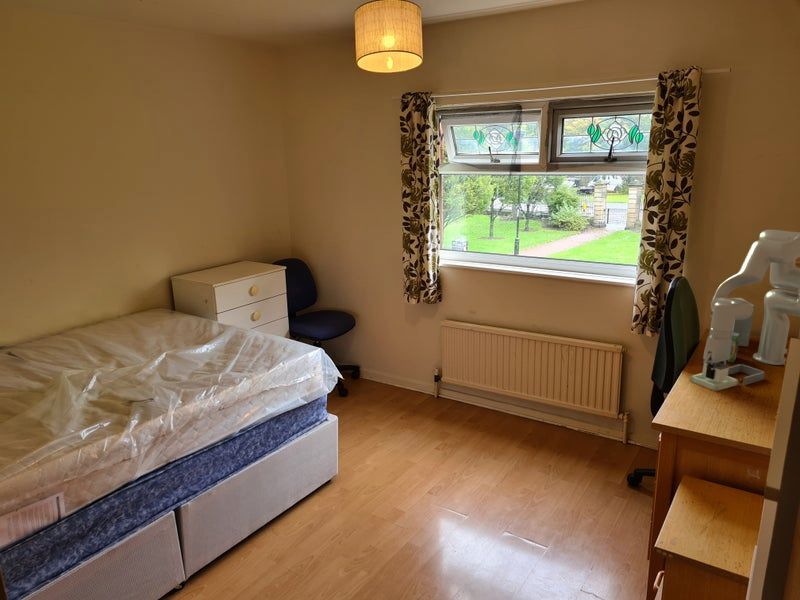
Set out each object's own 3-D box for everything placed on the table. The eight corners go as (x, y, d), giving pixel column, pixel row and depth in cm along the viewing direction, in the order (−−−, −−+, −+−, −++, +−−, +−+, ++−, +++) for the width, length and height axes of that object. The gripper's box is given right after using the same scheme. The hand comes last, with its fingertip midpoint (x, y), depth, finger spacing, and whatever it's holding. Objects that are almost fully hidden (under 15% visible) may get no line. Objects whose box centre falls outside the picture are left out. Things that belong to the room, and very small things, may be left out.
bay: (739, 370, 228) (741, 363, 227) (764, 379, 219) (766, 372, 218) (720, 376, 222) (721, 369, 222) (744, 385, 213) (745, 378, 213)
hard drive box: (748, 347, 254) (755, 306, 249) (730, 346, 256) (737, 305, 251) (736, 336, 269) (742, 297, 264) (719, 335, 271) (724, 296, 265)
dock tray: (711, 374, 224) (711, 370, 223) (737, 384, 214) (738, 380, 213) (689, 380, 218) (690, 376, 218) (715, 391, 208) (716, 386, 208)
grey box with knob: (710, 373, 220) (712, 358, 218) (726, 379, 214) (729, 364, 212) (702, 376, 218) (704, 360, 216) (718, 382, 211) (720, 366, 210)
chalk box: (713, 352, 248) (718, 321, 244) (737, 357, 242) (742, 325, 238) (709, 358, 241) (714, 327, 237) (733, 363, 235) (738, 330, 232)
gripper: (725, 327, 217) (719, 369, 222) (697, 333, 210) (691, 377, 215) (744, 332, 211) (737, 376, 216) (715, 339, 204) (709, 384, 209)
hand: (714, 376), depth 215 cm, fingers closed on grey box with knob, 5 cm apart
